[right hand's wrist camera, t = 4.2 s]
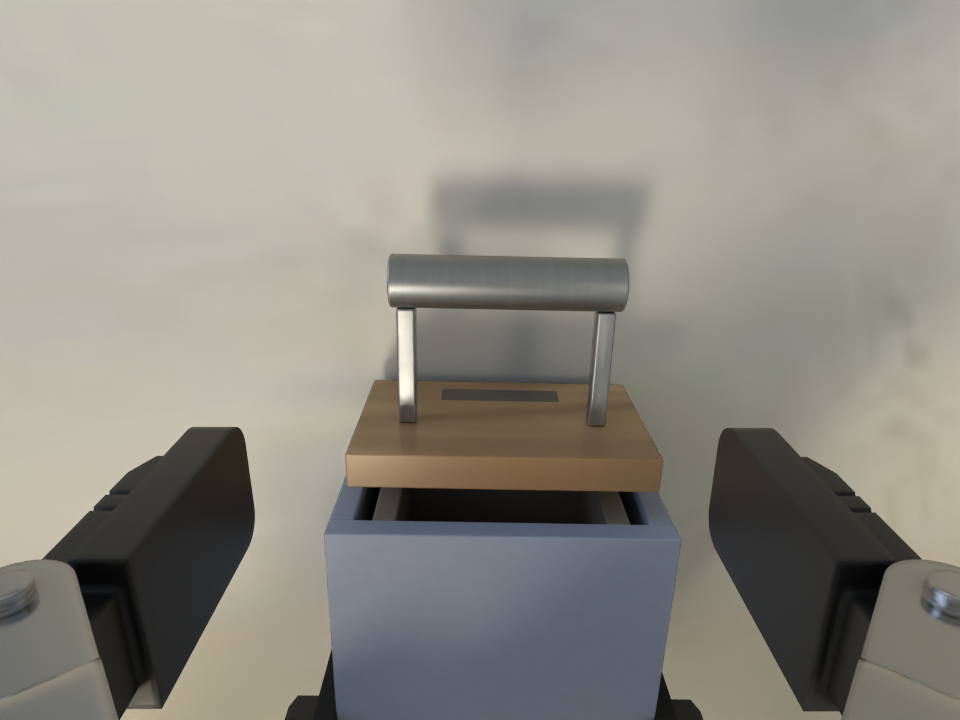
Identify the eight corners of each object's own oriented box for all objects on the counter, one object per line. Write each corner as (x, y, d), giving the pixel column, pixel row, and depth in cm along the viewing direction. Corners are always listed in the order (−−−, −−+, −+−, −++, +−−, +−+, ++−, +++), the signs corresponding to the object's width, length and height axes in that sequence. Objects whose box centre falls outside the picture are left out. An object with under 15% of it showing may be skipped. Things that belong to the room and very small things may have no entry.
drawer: (368, 234, 24) (335, 271, 18) (637, 240, 24) (687, 278, 19) (383, 630, 31) (360, 750, 25) (596, 633, 31) (624, 754, 25)
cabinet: (365, 421, 28) (323, 533, 20) (627, 426, 28) (682, 539, 20) (375, 671, 33) (344, 838, 25) (599, 675, 33) (636, 841, 25)
